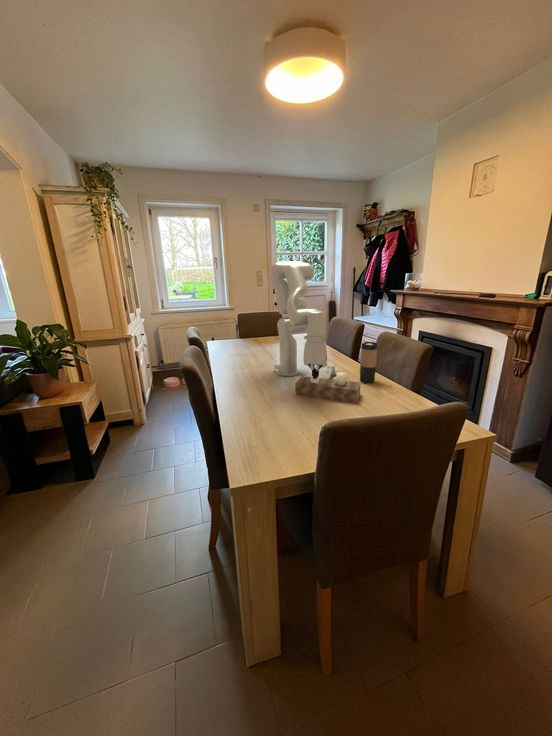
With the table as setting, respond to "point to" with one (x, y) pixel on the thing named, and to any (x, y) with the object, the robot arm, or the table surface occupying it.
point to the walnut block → (328, 389)
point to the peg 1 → (314, 380)
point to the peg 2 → (341, 379)
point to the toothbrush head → (329, 371)
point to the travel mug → (368, 362)
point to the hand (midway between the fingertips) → (315, 377)
